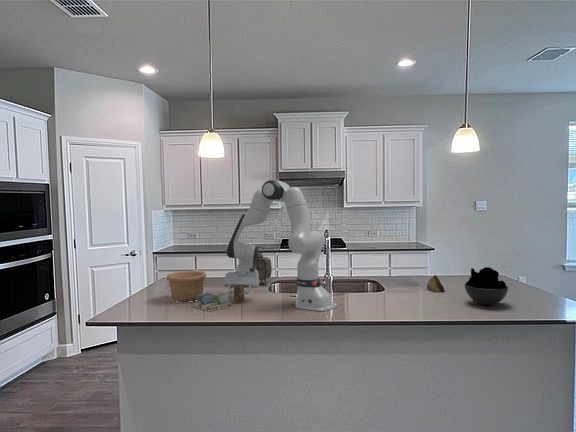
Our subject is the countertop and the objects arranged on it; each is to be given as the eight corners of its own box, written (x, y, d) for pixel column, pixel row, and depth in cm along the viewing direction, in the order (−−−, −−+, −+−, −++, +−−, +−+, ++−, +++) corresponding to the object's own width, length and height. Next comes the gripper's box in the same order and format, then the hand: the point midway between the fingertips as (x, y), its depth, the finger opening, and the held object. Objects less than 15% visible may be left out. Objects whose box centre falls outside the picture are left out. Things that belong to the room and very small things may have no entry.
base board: (231, 305, 215) (231, 294, 214) (210, 311, 204) (209, 299, 204) (213, 300, 225) (213, 290, 225) (192, 306, 215) (191, 295, 215)
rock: (421, 284, 244) (426, 286, 234) (429, 273, 244) (434, 274, 234) (436, 295, 243) (442, 297, 233) (444, 284, 243) (450, 285, 233)
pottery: (197, 304, 218) (196, 278, 217) (160, 303, 222) (159, 277, 221) (212, 295, 239) (211, 271, 238) (178, 294, 243) (177, 270, 243)
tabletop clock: (247, 284, 265) (246, 247, 264) (253, 282, 273) (252, 245, 272) (267, 286, 259) (266, 247, 258) (273, 283, 267) (272, 246, 266)
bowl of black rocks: (508, 302, 210) (508, 266, 209) (507, 311, 193) (507, 273, 192) (467, 297, 220) (467, 263, 219) (462, 306, 203) (462, 269, 202)
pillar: (244, 301, 223) (243, 285, 222) (241, 303, 219) (241, 287, 218) (236, 301, 224) (236, 285, 223) (233, 303, 219) (233, 286, 219)
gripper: (224, 268, 229) (219, 289, 220) (259, 269, 225) (254, 290, 216) (227, 275, 234) (222, 295, 225) (261, 275, 230) (257, 296, 221)
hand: (238, 293), depth 220 cm, fingers open, 8 cm apart
